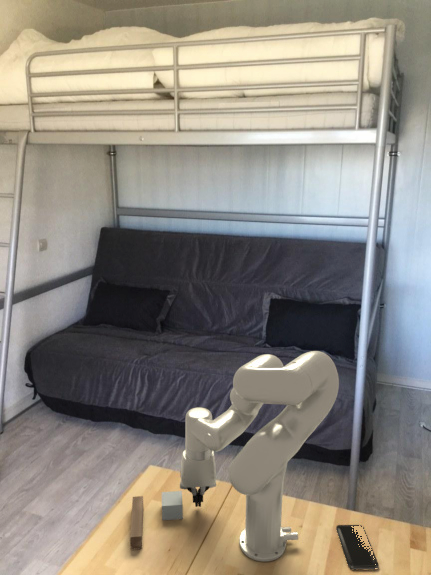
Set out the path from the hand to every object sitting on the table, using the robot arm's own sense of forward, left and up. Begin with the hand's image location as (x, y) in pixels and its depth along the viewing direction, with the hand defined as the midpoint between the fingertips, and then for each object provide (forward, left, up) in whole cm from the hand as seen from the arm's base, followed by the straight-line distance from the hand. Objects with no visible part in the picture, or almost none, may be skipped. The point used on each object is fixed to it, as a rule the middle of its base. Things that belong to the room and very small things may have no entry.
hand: (197, 503), depth 147 cm
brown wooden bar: (+18, +5, -2) cm, 19 cm away
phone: (-41, +19, -3) cm, 46 cm away
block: (+8, 0, -2) cm, 8 cm away
